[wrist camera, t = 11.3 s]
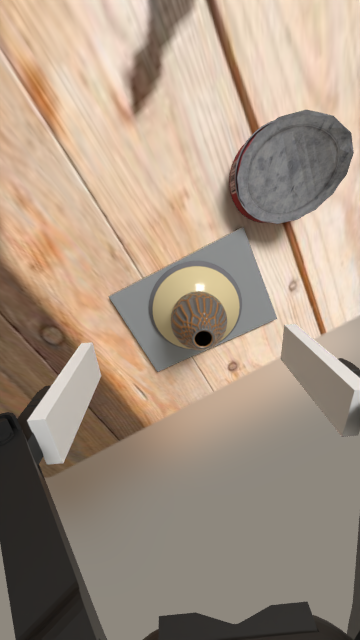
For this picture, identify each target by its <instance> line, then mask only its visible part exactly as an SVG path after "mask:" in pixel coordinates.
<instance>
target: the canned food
mask: <svg viewBox="0 0 360 640" xmlns="http://www.w3.org/2000/svg"><path fill="white" fill-rule="evenodd" d="M353 153H354V152H353V145H352V136H351V132H350V131H349V130H348V129H346V128H345V127H344V126H343V125H342V124H341V123H340V122H339V121H338V120H337V119H336V118H335V117H334V116H332V115H328V114H324V113H320V112H315V111H310V110H304V111H300V112H296V113H292V114H288V115H285V116H281V117H278V118H277V119H276V120H274V121H271V122H269V123H267V124H265V125H263V126H262V127H261V128H259V129H258V130H257V131H255V132H254V133H253V135H252V136H251V137H250V138H249V139H248V140H247V142H246V143H245V144H244V145H243V146H242V147H241V149H240V150H239V152H238V153H237V155H236V157H235V159H234V162H233V164H232V167H231V172H230V181H229V185H230V193H231V196H232V199H233V202H234V204H235V206H236V207H237V209H238V210H239V211H240V212H241V213H242V214H243V215H244V216H245V217H247V218H248V219H251V220H253V221H256V222H261V223H262V222H268V223H276V224H279V223H283V222H288V221H293V220H297V219H299V218H301V217H302V216H304V215H306V214H308V213H310V212H312V211H314V210H316V209H317V208H318V207H319V206H320V205H321V204H322V203H323V202H324V201H325V200H326V199H327V198H329V197H330V196H331V195H332V194H333V193H334V191H335V190H336V188H337V187H338V185H339V184H340V182H341V181H342V180H343V178H344V177H345V176H346V175H347V172H348V168H349V165H350V162H351V159H352V156H353Z"/></svg>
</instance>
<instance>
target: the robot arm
mask: <svg viewBox="0 0 360 640" xmlns="http://www.w3.org/2000/svg"><path fill="white" fill-rule="evenodd" d="M281 360H282V361H283V363H284V364H285V365H286V366H287V368H288V369H289V370H290V372H291V373H292V374H293V375H294V377H295V378H296V379H297V380H298V381H299V383H300V384H301V385H302V387H303V388H304V389H305V391H306V392H307V393H308V394H309V396H310V397H311V398H312V399H313V401H314V402H315V403H316V404H317V406H318V407H319V408H320V409H321V411H322V412H323V413H324V414H325V416H326V417H327V418H328V420H329V421H330V422H331V423H332V425H333V426H334V427H335V429H336V430H337V431H338V432H339V434H340V435H341V436H342V437H344V436H356V435H358V434H359V431H360V370H359V368H357V367H356V366H355V365H354V364H352V363H351V362H349V361H347V360H344V359H342V358H339V359H337V358H336V357H334V356H333V355H332V354H330V353H329V352H328V351H327V350H326V349H325V348H323V347H322V346H321V345H320V344H319V343H318V342H316V341H315V340H314V339H313V338H312V337H310V336H309V335H308V334H307V333H306V332H305V331H303V330H302V329H301V328H300V327H299V326H297V325H296V324H290V325H284V334H283V343H282V352H281ZM100 377H101V373H100V369H99V366H98V362H97V358H96V354H95V350H94V346H93V343H81V344H80V346H79V347H78V349H77V350H76V352H75V353H74V354H73V356H72V357H71V359H70V360H69V362H68V363H67V364H66V366H65V367H64V369H63V370H62V372H61V373H60V374H59V376H58V377H57V379H56V380H55V382H54V383H53V384H52V386H45V387H44V388H42V389H41V390H40V391H39V392H37V393H36V395H35V396H34V397H33V399H32V401H30V403H29V404H28V405H27V407H26V408H25V409H24V411H23V412H22V413H21V415H20V416H19V417H18V419H17V418H16V416H15V415H14V414H13V413H9V412H7V413H2V414H0V544H1V550H2V556H3V563H4V569H5V575H6V581H7V588H8V594H9V600H10V606H11V613H12V619H13V625H14V631H15V638H16V640H107V638H106V636H105V634H104V631H103V629H102V627H101V624H100V621H99V619H98V616H97V613H96V611H95V608H94V606H93V603H92V601H91V598H90V595H89V593H88V590H87V588H86V585H85V583H84V580H83V577H82V575H81V572H80V569H79V567H78V564H77V562H76V559H75V557H74V554H73V552H72V549H71V546H70V543H69V541H68V538H67V536H66V533H65V531H64V528H63V525H62V523H61V520H60V517H59V515H58V512H57V510H56V507H55V504H54V502H53V499H52V497H51V494H50V492H49V489H48V486H47V484H46V481H45V478H44V476H43V473H42V471H41V468H40V466H39V463H40V461H41V459H42V457H44V459H45V461H46V463H47V465H48V464H58V463H64V461H65V458H66V456H67V454H68V451H69V449H70V447H71V444H72V442H73V440H74V437H75V435H76V433H77V430H78V428H79V426H80V424H81V421H82V419H83V417H84V414H85V412H86V410H87V407H88V405H89V403H90V400H91V398H92V396H93V393H94V391H95V389H96V387H97V384H98V382H99V380H100ZM143 640H360V518H359V532H358V545H357V556H356V569H355V582H354V595H353V604H352V610H351V615H350V619H349V624H348V630H347V634H346V633H344V632H343V631H342V630H340V629H339V628H337V627H336V626H334V625H333V624H331V623H329V622H328V621H326V620H324V619H322V618H319V617H317V616H314V615H312V613H311V610H310V608H309V605H308V602H299V603H289V604H279V605H271V606H269V607H267V608H265V609H264V610H262V611H260V612H258V613H257V614H255V615H253V616H251V617H250V618H248V619H246V620H245V621H242V622H241V623H239V624H231V623H227V622H224V621H221V620H218V619H214V618H211V617H208V616H205V615H201V614H198V613H187V614H177V615H167V616H159V629H158V630H156V631H154V632H152V633H151V634H149V635H148V636H147V637H145V638H144V639H143Z"/></svg>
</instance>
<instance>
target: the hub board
mask: <svg viewBox="0 0 360 640" xmlns="http://www.w3.org/2000/svg"><path fill="white" fill-rule="evenodd" d="M195 291H202V292H206V293H209V294H211V295H213V296H214V297H216V298H217V299H218V300H219V301H220V302H221V304H222V305H223V307H224V309H225V311H226V315H227V328H226V332H225V334H224V336H223V338H222V339H221V340H220V342H219V343H218V344H216V345H215V346H217V345H219V344H221V343H224V342H226V341H228V340H230V339H233V338H235V337H237V336H239V335H242V334H244V333H246V332H248V331H251V330H253V329H255V328H257V327H260V326H262V325H264V324H266V323H269V322H271V321H273V320H275V319H277V317H276V314H275V311H274V309H273V306H272V303H271V301H270V298H269V295H268V292H267V290H266V287H265V284H264V282H263V279H262V276H261V273H260V271H259V268H258V265H257V263H256V260H255V257H254V255H253V252H252V249H251V246H250V244H249V241H248V238H247V236H246V233H245V230H244V227H241V228H239V229H237V230H235V231H233V232H231V233H229V234H227V235H225V236H223V237H222V238H220V239H218V240H216V241H214V242H212V243H210V244H208V245H206V246H204V247H202V248H200V249H198V250H196V251H195V252H193V253H191V254H189V255H187V256H185V257H183V258H181V259H179V260H177V261H175V262H173V263H171V264H169V265H168V266H166V267H164V268H162V269H160V270H158V271H156V272H154V273H152V274H150V275H148V276H146V277H144V278H142V279H141V280H139V281H137V282H135V283H133V284H131V285H129V286H127V287H125V288H123V289H121V290H119V291H117V292H115V293H114V294H112V295H110V296H109V298H110V299H111V301H112V303H113V304H114V306H115V307H116V309H117V310H118V312H119V313H120V315H121V316H122V318H123V319H124V321H125V323H126V324H127V326H128V327H129V329H130V330H131V332H132V333H133V335H134V336H135V338H136V340H137V341H138V343H139V344H140V346H141V347H142V349H143V350H144V352H145V353H146V355H147V356H148V358H149V360H150V361H151V363H152V364H153V366H154V367H155V369H156V370H157V372H158V371H161V370H163V369H165V368H167V367H170V366H172V365H174V364H176V363H179V362H181V361H183V360H185V359H188V358H190V357H192V356H194V355H197V354H199V353H201V352H203V351H206V350H208V349H206V350H193V349H190V348H188V347H186V346H184V345H183V344H181V343H180V342H179V341H178V339H177V338H176V337H175V335H174V333H173V331H172V328H171V313H172V309H173V307H174V305H175V304H176V302H177V301H178V300H179V299H180V298H181V297H182V296H184V295H185V294H188V293H190V292H195ZM215 346H213V347H215ZM211 348H212V347H211ZM209 349H210V348H209Z"/></svg>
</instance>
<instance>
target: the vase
mask: <svg viewBox="0 0 360 640" xmlns="http://www.w3.org/2000/svg"><path fill="white" fill-rule="evenodd" d="M171 328H172V331H173V333H174V335H175V337H176V338H177V339H178V341H179V342H180V343H181V344H183V345H184V346H186V347H188V348H190V349H193V350H206V349H209V348H211V347H213V346H215V345H216V344H218V343H219V342H220V340H221V339H222V338H223V336H224V334H225V332H226V328H227V315H226V311H225V309H224V307H223V305H222V304H221V302H220V301H219V300H218V299H217V298H216V297H214V296H213V295H211V294H209V293H206V292H202V291H195V292H190V293H188V294H185V295H184V296H182V297H181V298H180V299H179V300H178V301H177V302H176V304H175V305H174V307H173V309H172V313H171Z"/></svg>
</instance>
